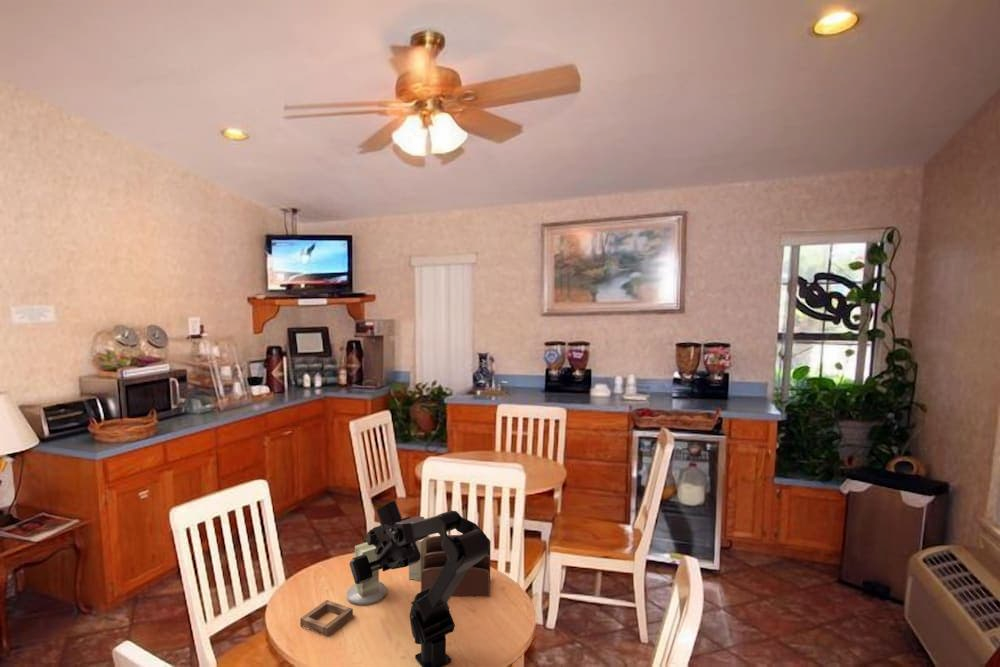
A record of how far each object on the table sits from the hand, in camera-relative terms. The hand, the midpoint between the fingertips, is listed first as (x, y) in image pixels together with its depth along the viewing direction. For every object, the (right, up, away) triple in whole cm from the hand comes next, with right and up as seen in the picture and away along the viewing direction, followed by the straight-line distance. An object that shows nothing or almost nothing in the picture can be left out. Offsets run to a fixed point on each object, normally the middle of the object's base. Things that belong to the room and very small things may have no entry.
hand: (376, 572), depth 136 cm
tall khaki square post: (-4, -8, +5) cm, 10 cm away
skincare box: (+9, -9, +16) cm, 20 cm away
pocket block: (-11, -9, -8) cm, 16 cm away
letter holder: (+22, -9, +9) cm, 25 cm away
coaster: (-4, -9, +5) cm, 11 cm away
